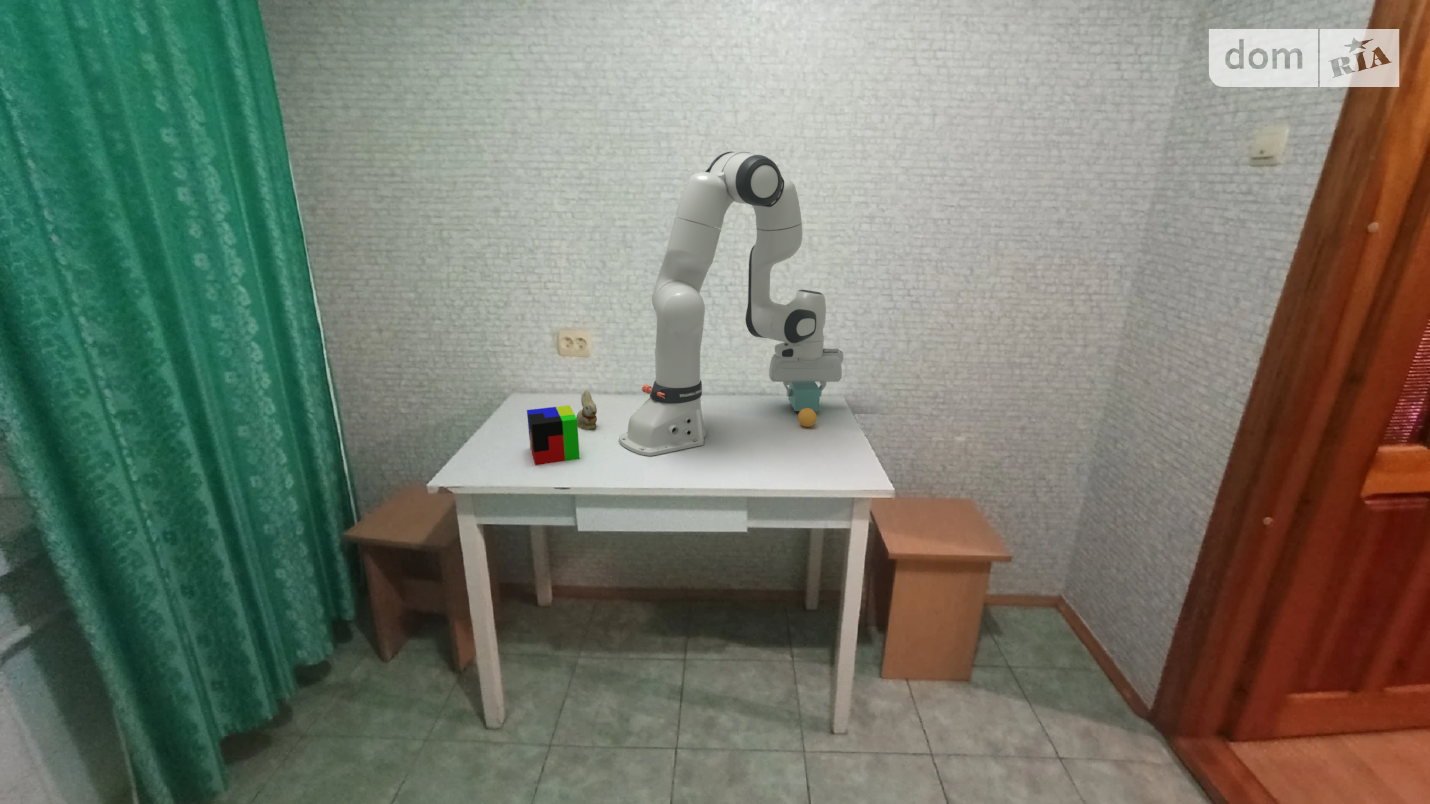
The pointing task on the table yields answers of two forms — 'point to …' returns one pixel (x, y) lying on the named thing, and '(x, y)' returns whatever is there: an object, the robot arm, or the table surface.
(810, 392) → the teal rectangular box
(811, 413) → the ball
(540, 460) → the puzzle toy
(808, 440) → the table surface
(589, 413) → the chocolate bunny
